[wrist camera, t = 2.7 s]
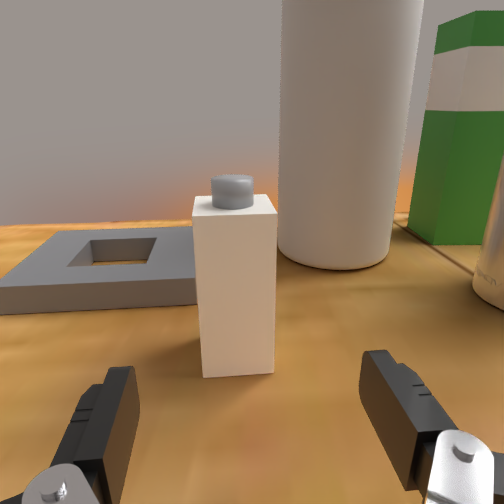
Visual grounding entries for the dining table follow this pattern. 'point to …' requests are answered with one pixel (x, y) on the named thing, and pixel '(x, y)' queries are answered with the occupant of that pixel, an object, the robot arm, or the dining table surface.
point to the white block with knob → (235, 277)
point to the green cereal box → (461, 132)
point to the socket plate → (104, 272)
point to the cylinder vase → (343, 126)
